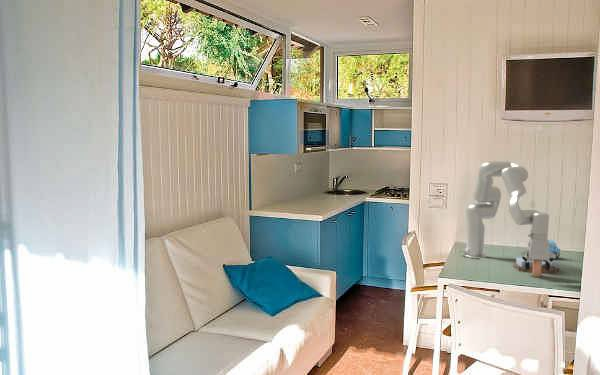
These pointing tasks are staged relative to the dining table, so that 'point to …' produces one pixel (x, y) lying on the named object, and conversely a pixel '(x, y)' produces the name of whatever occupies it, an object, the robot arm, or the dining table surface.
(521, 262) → the pale blue peg socket
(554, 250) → the toy excavator
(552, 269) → the cradle
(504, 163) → the robot arm
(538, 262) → the tail peg
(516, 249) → the dining table surface
